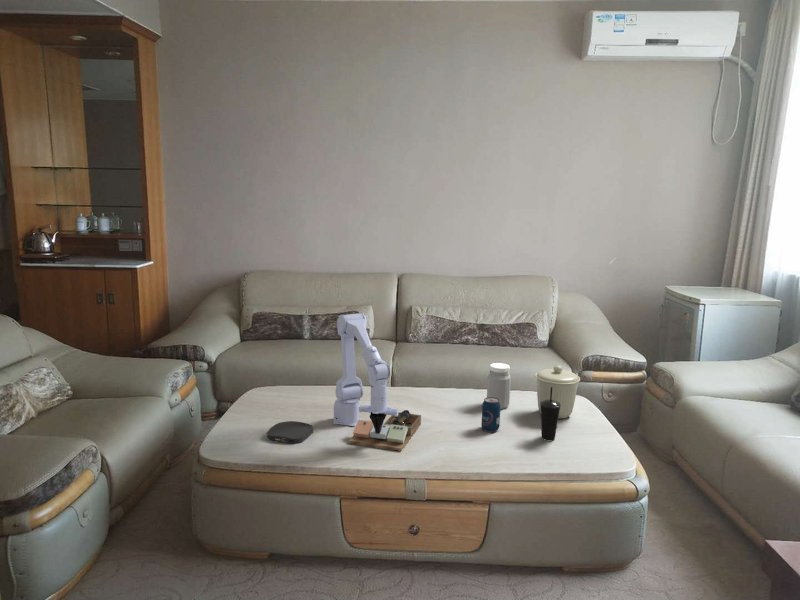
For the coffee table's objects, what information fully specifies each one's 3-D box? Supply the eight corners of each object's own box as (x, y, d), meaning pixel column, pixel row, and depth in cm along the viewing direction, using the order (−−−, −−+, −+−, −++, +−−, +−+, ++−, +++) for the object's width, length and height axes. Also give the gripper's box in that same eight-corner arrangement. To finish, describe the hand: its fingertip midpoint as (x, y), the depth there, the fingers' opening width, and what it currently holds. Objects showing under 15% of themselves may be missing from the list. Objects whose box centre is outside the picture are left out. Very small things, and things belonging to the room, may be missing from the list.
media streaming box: (316, 430, 229) (316, 423, 228) (299, 446, 215) (299, 438, 214) (281, 426, 233) (281, 418, 232) (263, 440, 219) (263, 433, 218)
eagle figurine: (412, 429, 228) (414, 417, 236) (402, 415, 226) (404, 403, 234) (395, 438, 230) (398, 425, 238) (385, 424, 228) (388, 411, 236)
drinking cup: (559, 435, 227) (563, 385, 224) (557, 443, 220) (561, 391, 217) (538, 432, 230) (542, 382, 226) (536, 440, 223) (539, 389, 219)
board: (348, 443, 217) (348, 433, 216) (373, 418, 241) (373, 408, 241) (401, 451, 211) (401, 441, 210) (421, 424, 235) (421, 415, 235)
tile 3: (387, 441, 216) (386, 437, 215) (392, 427, 221) (391, 424, 219) (403, 443, 215) (402, 439, 213) (407, 429, 219) (406, 426, 217)
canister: (574, 408, 256) (578, 361, 253) (579, 424, 239) (583, 373, 235) (531, 405, 259) (534, 358, 256) (533, 420, 242) (536, 370, 238)
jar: (492, 400, 265) (494, 360, 261) (513, 405, 259) (515, 365, 256) (482, 406, 257) (484, 365, 254) (503, 411, 251) (505, 370, 248)
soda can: (477, 429, 232) (479, 399, 230) (487, 424, 237) (489, 395, 235) (492, 434, 228) (494, 404, 225) (502, 429, 233) (504, 399, 230)
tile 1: (354, 436, 220) (352, 432, 219) (359, 423, 224) (358, 419, 223) (369, 438, 218) (368, 434, 217) (374, 425, 223) (373, 421, 221)
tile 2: (370, 437, 217) (369, 431, 217) (375, 428, 223) (375, 423, 222) (385, 439, 216) (385, 434, 215) (390, 430, 221) (390, 425, 220)
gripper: (355, 397, 213) (355, 434, 215) (394, 402, 208) (393, 439, 210) (362, 391, 219) (362, 427, 221) (400, 396, 215) (400, 432, 217)
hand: (378, 432), depth 216 cm, fingers closed, pressing on tile 2
